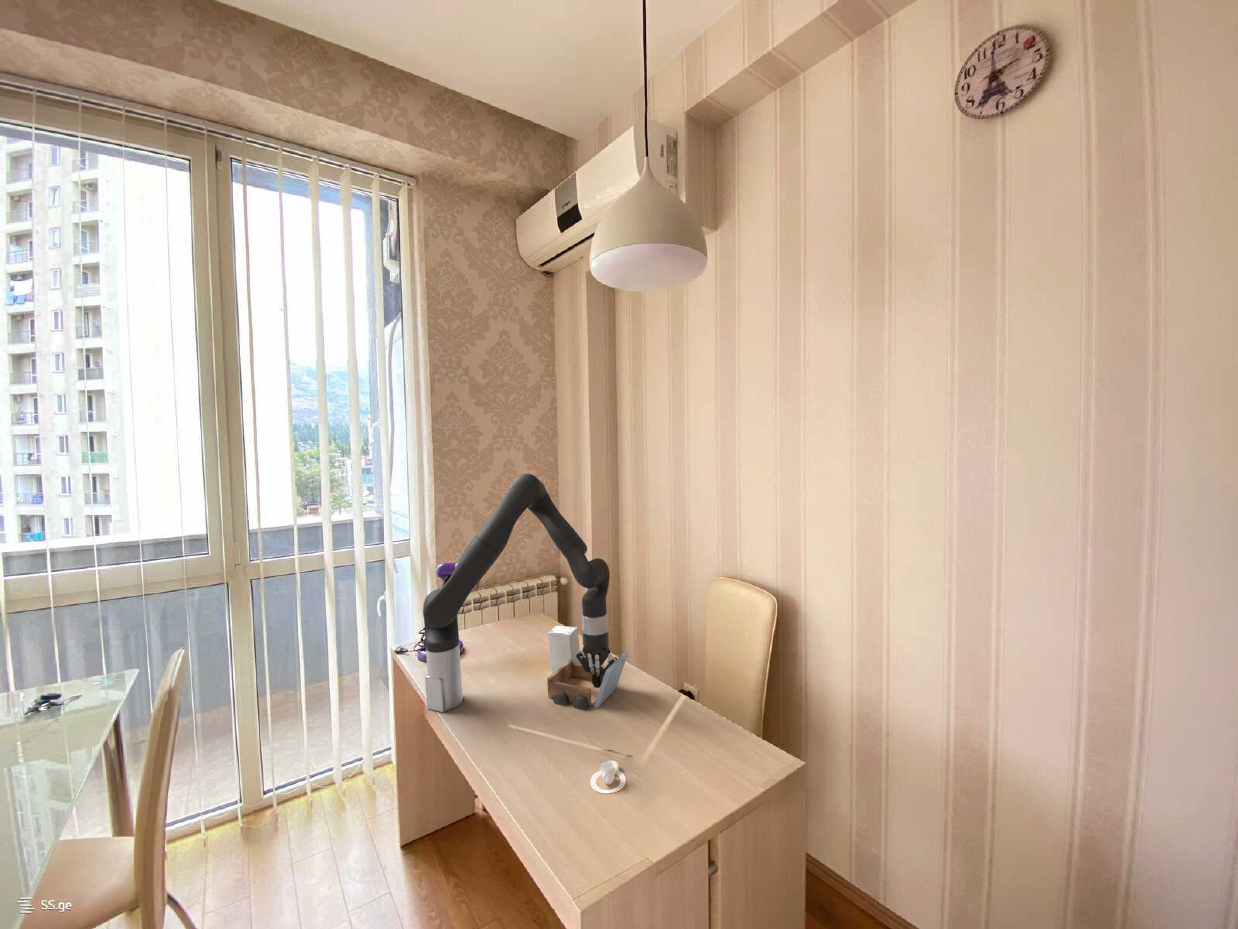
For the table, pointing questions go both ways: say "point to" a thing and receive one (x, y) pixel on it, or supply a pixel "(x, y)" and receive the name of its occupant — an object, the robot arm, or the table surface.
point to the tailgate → (610, 679)
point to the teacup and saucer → (608, 777)
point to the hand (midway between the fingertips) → (597, 686)
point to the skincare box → (563, 646)
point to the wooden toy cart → (572, 686)
